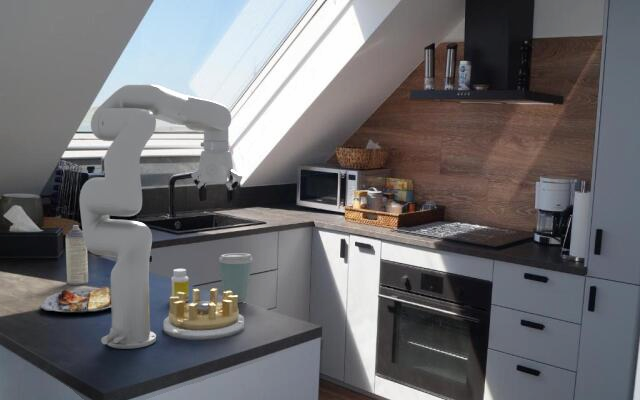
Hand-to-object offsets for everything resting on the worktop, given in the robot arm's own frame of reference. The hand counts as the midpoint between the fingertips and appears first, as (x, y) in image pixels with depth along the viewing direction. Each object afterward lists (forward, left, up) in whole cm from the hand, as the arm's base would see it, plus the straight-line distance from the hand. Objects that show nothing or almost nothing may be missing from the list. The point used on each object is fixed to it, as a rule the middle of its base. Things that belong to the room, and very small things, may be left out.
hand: (216, 201), depth 223 cm
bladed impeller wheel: (-27, -11, -29) cm, 41 cm away
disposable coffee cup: (+1, -6, -31) cm, 32 cm away
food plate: (-22, +34, -32) cm, 51 cm away
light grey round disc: (-27, -11, -31) cm, 43 cm away
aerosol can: (-1, +54, -31) cm, 63 cm away
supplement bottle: (-6, +10, -31) cm, 34 cm away
